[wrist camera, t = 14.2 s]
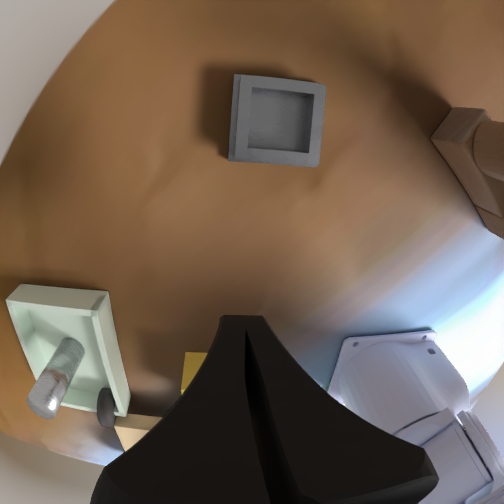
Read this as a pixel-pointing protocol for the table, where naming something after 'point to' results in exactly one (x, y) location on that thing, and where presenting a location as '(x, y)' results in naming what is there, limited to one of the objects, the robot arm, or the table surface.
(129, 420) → the trolley
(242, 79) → the pin socket
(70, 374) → the pin
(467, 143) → the wooden block
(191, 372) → the yellow cube
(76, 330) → the tray
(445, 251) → the table surface
